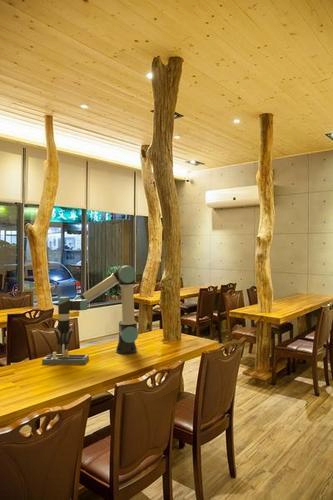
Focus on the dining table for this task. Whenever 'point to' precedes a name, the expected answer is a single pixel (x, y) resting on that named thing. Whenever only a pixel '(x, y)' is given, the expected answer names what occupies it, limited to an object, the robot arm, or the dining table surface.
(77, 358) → the switch bank
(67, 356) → the tab ochre
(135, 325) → the robot arm
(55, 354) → the tab ivory
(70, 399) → the dining table surface
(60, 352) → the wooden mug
